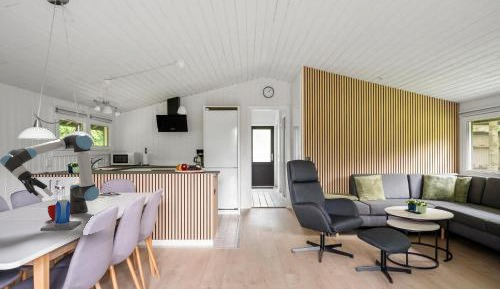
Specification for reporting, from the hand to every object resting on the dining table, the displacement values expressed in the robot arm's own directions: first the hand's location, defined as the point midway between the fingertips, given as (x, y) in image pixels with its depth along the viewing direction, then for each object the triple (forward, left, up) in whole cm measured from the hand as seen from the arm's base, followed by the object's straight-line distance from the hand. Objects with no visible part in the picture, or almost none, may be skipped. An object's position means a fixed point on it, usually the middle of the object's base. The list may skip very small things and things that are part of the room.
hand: (47, 196), depth 196 cm
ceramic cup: (-22, 0, -20) cm, 30 cm away
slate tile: (0, +10, -20) cm, 22 cm away
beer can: (0, +10, -19) cm, 21 cm away
